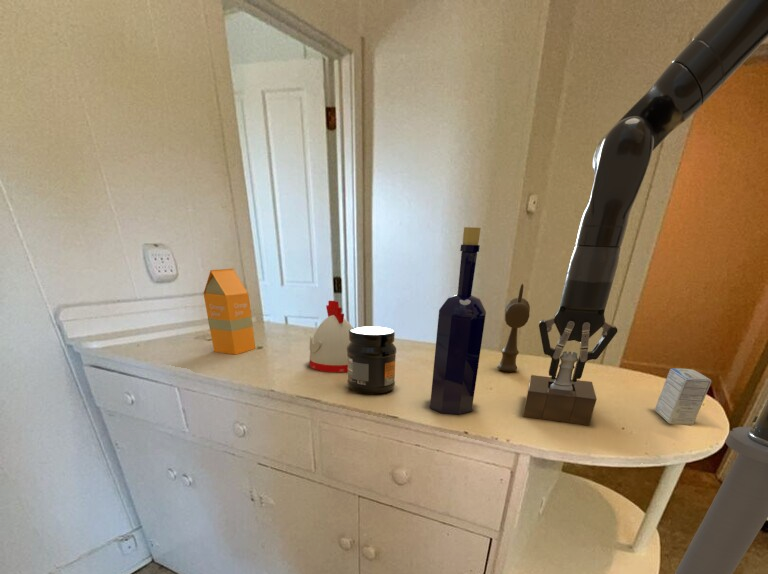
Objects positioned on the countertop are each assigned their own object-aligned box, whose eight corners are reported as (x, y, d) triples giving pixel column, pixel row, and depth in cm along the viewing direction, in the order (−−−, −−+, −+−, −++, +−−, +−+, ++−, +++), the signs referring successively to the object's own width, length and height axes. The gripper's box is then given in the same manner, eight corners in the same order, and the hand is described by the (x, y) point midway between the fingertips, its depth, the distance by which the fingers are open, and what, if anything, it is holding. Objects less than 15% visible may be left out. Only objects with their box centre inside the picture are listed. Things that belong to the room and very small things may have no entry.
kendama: (518, 367, 114) (535, 282, 103) (518, 376, 106) (536, 286, 95) (495, 364, 115) (509, 281, 104) (494, 374, 107) (509, 284, 96)
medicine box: (693, 426, 80) (713, 380, 75) (667, 424, 81) (686, 378, 76) (676, 412, 86) (694, 369, 82) (653, 410, 87) (670, 367, 82)
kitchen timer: (348, 356, 118) (347, 296, 110) (373, 368, 108) (374, 303, 100) (301, 361, 112) (296, 298, 104) (323, 374, 102) (319, 306, 94)
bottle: (464, 398, 90) (487, 228, 74) (481, 413, 83) (511, 228, 66) (422, 400, 88) (436, 226, 72) (436, 415, 81) (455, 226, 64)
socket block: (585, 405, 88) (592, 381, 86) (588, 425, 79) (596, 399, 76) (526, 398, 91) (531, 374, 89) (522, 416, 82) (528, 390, 79)
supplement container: (402, 386, 96) (405, 329, 90) (380, 398, 88) (382, 337, 82) (362, 378, 100) (362, 324, 94) (338, 390, 92) (336, 331, 86)
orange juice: (256, 348, 123) (245, 269, 112) (235, 354, 116) (222, 271, 105) (234, 345, 126) (222, 267, 115) (213, 351, 119) (198, 269, 108)
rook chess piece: (569, 400, 81) (581, 356, 77) (545, 396, 83) (555, 353, 78) (573, 394, 84) (584, 352, 80) (550, 390, 86) (560, 349, 82)
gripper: (546, 276, 71) (524, 380, 81) (638, 281, 68) (604, 389, 77) (546, 274, 77) (526, 370, 87) (631, 278, 74) (601, 378, 83)
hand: (563, 379), depth 82 cm, fingers closed on rook chess piece, 3 cm apart
